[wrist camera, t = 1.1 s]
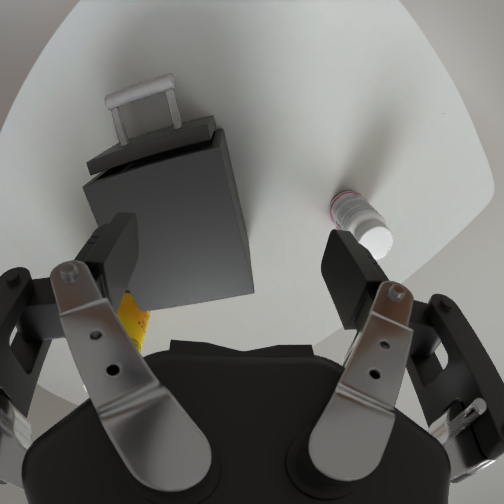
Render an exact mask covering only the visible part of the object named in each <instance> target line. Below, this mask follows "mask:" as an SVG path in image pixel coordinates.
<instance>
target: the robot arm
mask: <svg viewBox="0 0 504 504" xmlns="http://www.w3.org/2000/svg"><path fill="white" fill-rule="evenodd" d="M138 256H139V242H138V228H137V216H136V214H135V213H124V212H117V213H116V215H115V216H114V217H113V219H112V220H111V222H110V223H109V224H108V223H105V224H103V225H102V226H100V227H99V228H97V229H96V230H95V231H94V232H93V234H92V235H91V238H89V239H88V241H87V243H86V244H85V245H84V246H83V248H82V249H81V251H80V252H79V253H78V255H77V256H76V258H75V259H74V260H72V261H67V262H64V263H61V264H59V265H58V266H56V267H55V268H54V269H53V270H52V272H51V274H50V277H48V278H41V279H33V280H32V278H31V275H30V272H29V270H28V269H26V268H23V267H17V268H13V269H10V270H8V271H6V272H5V273H4V274H2V275H1V277H0V484H7V483H8V484H10V485H13V486H15V487H17V488H19V489H22V490H24V491H25V494H26V497H27V500H28V503H29V504H448V494H449V485H450V482H452V483H458V482H460V481H462V480H464V479H466V478H467V477H470V476H471V475H473V474H475V473H476V472H478V471H480V470H482V469H483V468H485V467H486V466H488V465H490V464H491V463H493V462H494V461H496V460H497V459H499V458H500V457H502V456H503V455H504V383H503V381H502V379H501V377H500V376H499V373H498V372H497V370H496V368H495V366H494V364H493V362H492V361H491V359H490V357H489V355H488V354H487V352H486V350H485V348H484V347H483V345H482V343H481V342H480V340H479V338H478V337H477V335H476V334H475V332H474V330H473V329H472V327H471V326H470V324H469V322H468V321H467V319H466V318H465V317H464V315H463V313H462V312H461V310H460V309H459V307H458V306H457V305H456V303H455V302H454V301H453V300H451V299H450V298H448V297H447V296H445V295H442V294H434V295H432V297H431V299H430V300H429V302H428V304H427V303H423V302H419V301H415V300H413V299H414V298H413V295H412V293H411V292H410V291H409V290H408V289H407V288H406V287H405V286H403V285H402V284H400V283H397V282H394V281H389V279H388V278H387V276H386V275H385V273H384V272H383V270H382V269H381V267H380V266H379V265H378V263H377V262H376V260H375V259H373V256H372V254H371V253H370V252H369V250H368V249H367V248H365V247H364V246H363V245H361V244H360V243H358V241H357V240H356V239H355V237H354V236H353V234H352V233H351V232H350V231H345V230H336V229H333V230H332V231H331V232H330V235H329V238H328V242H327V245H326V249H325V252H324V255H323V259H322V263H321V273H322V276H323V278H324V281H325V283H326V285H327V288H328V290H329V292H330V295H331V297H332V300H333V302H334V304H335V307H336V309H337V312H338V314H339V317H340V319H341V322H342V324H343V327H344V329H345V330H347V329H356V330H357V333H356V335H355V337H354V339H353V341H352V343H351V345H350V348H349V349H348V352H347V354H346V356H345V358H344V360H343V362H342V363H341V365H340V364H338V363H336V362H334V361H332V360H329V359H327V358H324V357H320V356H317V355H314V353H313V349H312V345H276V346H271V347H266V348H261V349H255V350H250V351H238V350H234V349H230V348H226V347H222V346H218V345H214V344H210V343H206V342H193V341H180V340H171V342H170V348H169V350H166V351H161V352H156V353H153V354H150V355H147V356H145V357H142V355H141V354H140V352H139V351H138V349H137V348H136V346H135V344H134V343H133V341H132V339H131V338H130V336H129V334H128V333H127V331H126V329H125V328H124V326H123V324H122V323H121V321H120V319H119V317H118V316H117V312H118V309H119V306H120V304H121V301H122V298H123V296H124V293H125V291H126V288H127V286H128V283H129V281H130V278H131V276H132V273H133V271H134V268H135V266H136V264H137V261H138ZM15 326H16V328H17V330H18V331H17V333H16V335H15V337H14V339H13V342H12V344H11V346H10V345H9V340H10V335H11V333H12V331H13V329H14V327H15ZM56 338H66V339H67V342H68V345H69V348H70V351H71V353H72V356H73V359H74V361H75V364H76V366H77V369H78V371H79V374H80V376H81V378H82V381H83V383H84V385H85V388H86V390H87V392H88V394H89V396H90V398H88V399H87V400H86V401H85V402H83V403H82V404H81V405H80V406H78V407H77V408H76V409H74V410H73V411H72V412H71V413H70V414H68V415H67V416H66V417H64V418H63V419H62V420H60V421H59V422H58V423H57V424H55V425H54V426H53V427H51V428H50V429H49V430H48V431H46V432H45V433H44V434H42V435H41V436H40V437H38V439H36V440H35V441H34V442H33V440H32V429H31V425H30V423H29V421H28V420H27V415H28V411H29V407H30V404H31V400H32V397H33V393H34V390H35V387H36V384H37V381H38V377H39V374H40V371H41V369H42V366H43V363H44V360H45V357H46V355H47V352H48V349H49V347H50V344H51V341H52V339H56ZM441 342H442V344H443V345H444V347H445V350H446V351H447V354H448V364H447V366H446V368H445V369H444V370H443V369H442V367H441V364H440V362H439V361H438V358H437V356H436V354H435V352H434V351H435V350H436V348H437V347H438V346H439V344H440V343H441ZM405 368H407V371H408V373H409V376H410V378H411V381H412V383H413V386H414V388H415V391H416V394H417V396H418V399H419V402H420V404H421V407H422V410H423V413H424V416H425V419H426V421H427V425H428V427H429V431H428V432H427V431H426V430H424V429H423V428H422V427H420V426H419V425H418V424H416V423H415V422H414V421H412V420H411V419H410V418H408V417H407V416H406V415H404V414H403V413H402V412H401V411H399V410H398V409H397V408H395V404H396V400H397V397H398V394H399V390H400V387H401V383H402V379H403V375H404V371H405Z"/></svg>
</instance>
